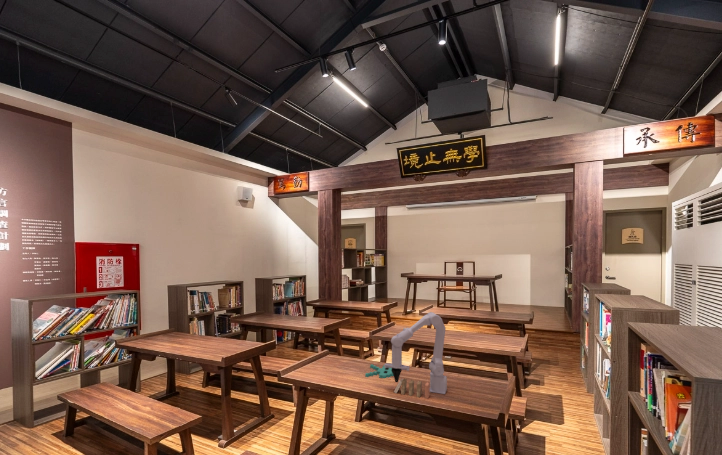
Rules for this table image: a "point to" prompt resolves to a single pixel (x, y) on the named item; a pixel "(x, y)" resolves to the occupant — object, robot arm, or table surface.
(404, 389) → the domino
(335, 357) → the table surface
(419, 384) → the domino
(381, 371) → the alien figure
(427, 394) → the domino
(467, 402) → the table surface
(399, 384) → the white domino
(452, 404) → the table surface
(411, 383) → the domino
